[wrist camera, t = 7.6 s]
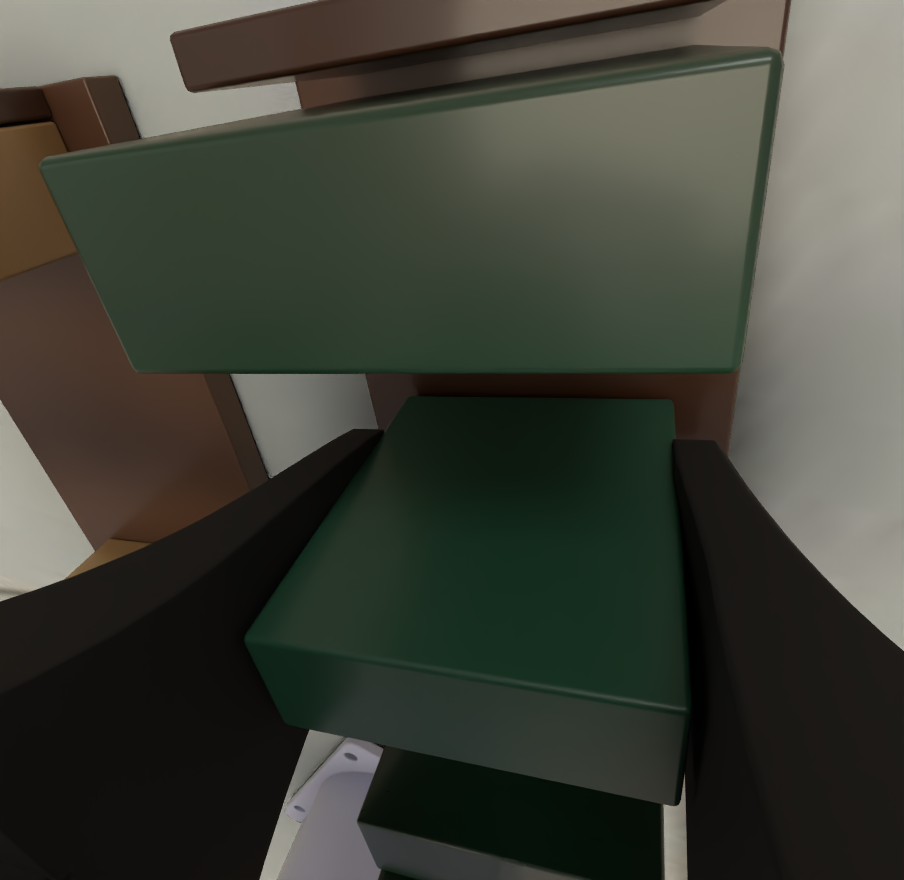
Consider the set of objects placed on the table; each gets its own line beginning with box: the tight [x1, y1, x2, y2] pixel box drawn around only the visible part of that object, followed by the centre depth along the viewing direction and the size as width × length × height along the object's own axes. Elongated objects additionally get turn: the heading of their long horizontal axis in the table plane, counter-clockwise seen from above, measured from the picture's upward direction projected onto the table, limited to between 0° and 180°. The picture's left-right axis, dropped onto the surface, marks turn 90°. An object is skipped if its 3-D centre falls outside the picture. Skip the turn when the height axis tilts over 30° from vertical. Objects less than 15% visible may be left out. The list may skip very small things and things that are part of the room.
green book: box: [244, 396, 693, 806], centre depth 9 cm, size 2×5×6 cm, turn 98°
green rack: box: [39, 0, 791, 880], centre depth 10 cm, size 16×7×7 cm, turn 8°
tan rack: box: [0, 76, 269, 579], centre depth 13 cm, size 16×7×7 cm, turn 8°
